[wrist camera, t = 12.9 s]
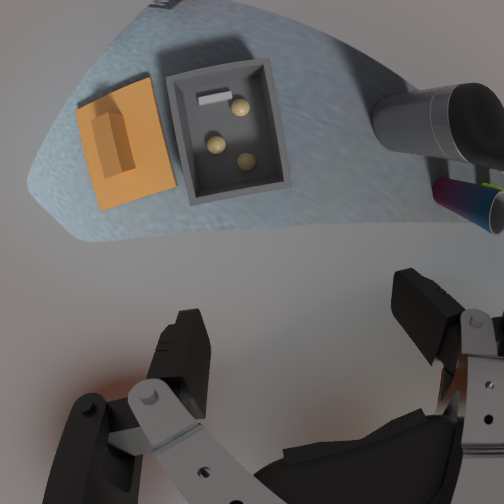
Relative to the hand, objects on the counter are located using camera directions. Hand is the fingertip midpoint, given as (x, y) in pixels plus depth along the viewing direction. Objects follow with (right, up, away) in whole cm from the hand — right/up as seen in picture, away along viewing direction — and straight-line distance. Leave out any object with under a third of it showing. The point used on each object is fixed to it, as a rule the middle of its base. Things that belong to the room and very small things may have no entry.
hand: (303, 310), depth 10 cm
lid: (-20, +18, +24) cm, 36 cm away
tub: (-5, +19, +24) cm, 31 cm away
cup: (+32, +13, +29) cm, 46 cm away
